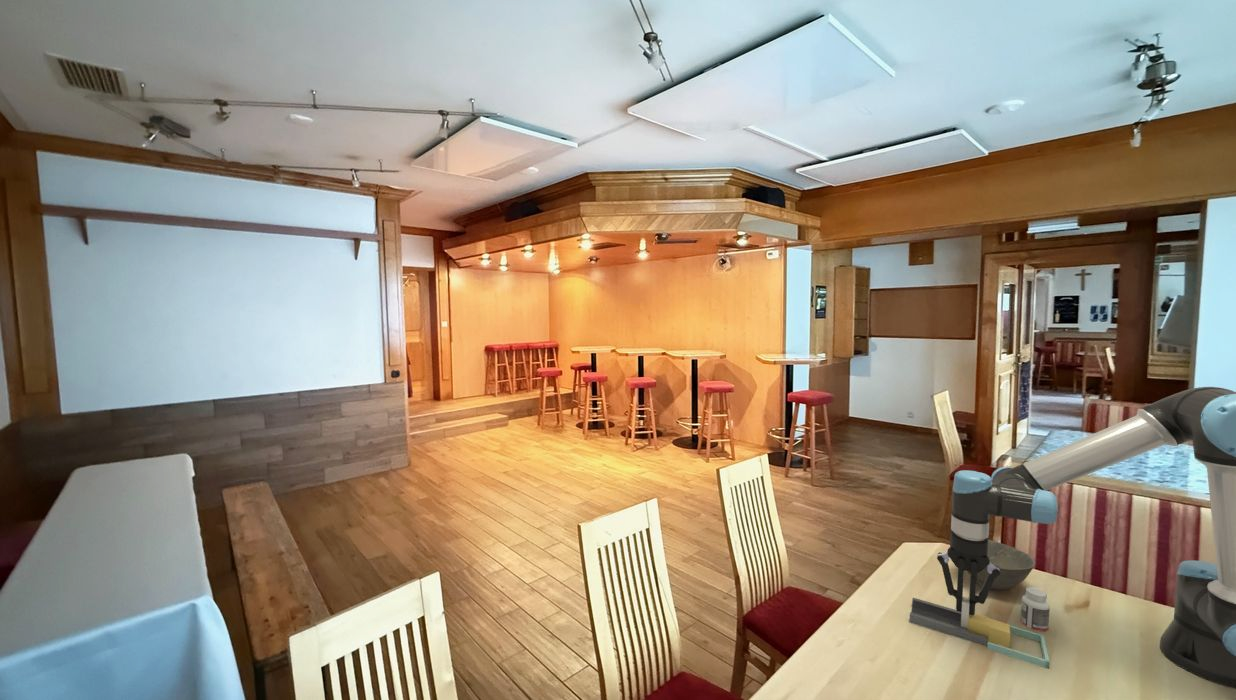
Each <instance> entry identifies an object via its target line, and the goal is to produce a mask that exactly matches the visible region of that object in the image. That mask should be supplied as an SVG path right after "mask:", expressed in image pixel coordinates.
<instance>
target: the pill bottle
mask: <svg viewBox="0 0 1236 700" xmlns="http://www.w3.org/2000/svg"><path fill="white" fill-rule="evenodd" d="M1047 597H1048V595H1047V593H1046V592H1045V591H1044V590H1042V589H1040V588H1037V587H1031V586H1030V587H1029V586H1028V587H1026V589H1025V595H1022V598H1021V607H1020V608H1021V609H1020V622H1021V624H1022V625H1024V626H1025V627H1027V628H1029V629H1032V630H1034V631H1039V632H1047V631H1048V630H1049V625H1050V624H1049V621H1050V611H1051V610H1050V609H1051V608H1050V607H1051V605H1050V604H1049V602H1048V601H1047V599H1048V598H1047Z"/></svg>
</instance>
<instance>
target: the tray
mask: <svg viewBox="0 0 1236 700" xmlns="http://www.w3.org/2000/svg"><path fill="white" fill-rule="evenodd" d="M1009 627H1010V634H1011V635H1016V636H1019V637H1023V638H1025V639H1030V640H1033V641H1037V642H1039V644H1040V647H1041V648H1040V649H1041V652H1042V654H1041V655H1042V658H1041V657H1038V656H1035V655H1032V654H1028V653H1025V652H1022V651H1019V650H1015V649H1013V648H1008V647H1005V646H1002V645H999V644H995V643H992V642H989V641H988V643H987V648H986V649H987V650H989V651H991V652H995V653H998V654H1002V655H1004V656H1008V657H1010V658H1013V659H1017V660H1020V661H1023V662H1026V663H1029V664H1033V665H1035V666H1039V667H1041V668H1045V669H1048V670H1049V669H1050V665H1051V664H1050V658H1049V655H1048V650H1047V646H1046V642H1045V641H1046V640H1045V637H1044V635H1043V634H1041V633H1037V632H1033V631H1030V630H1027V629H1023V628H1019V627H1016V626H1013V625H1010V624H1009Z"/></svg>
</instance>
